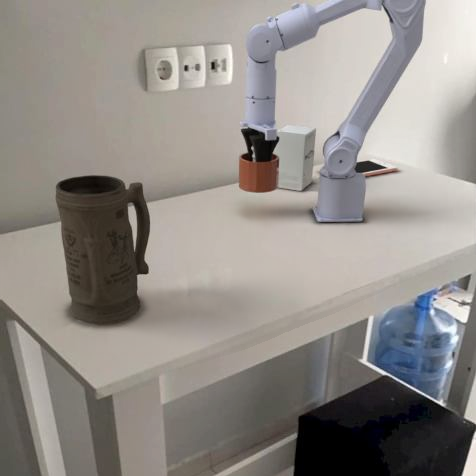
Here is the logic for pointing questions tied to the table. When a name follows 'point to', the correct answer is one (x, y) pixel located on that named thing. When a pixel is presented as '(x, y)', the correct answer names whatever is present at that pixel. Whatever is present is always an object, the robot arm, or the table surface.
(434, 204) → the table surface
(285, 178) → the white packaging box
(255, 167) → the cup
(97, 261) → the beer stein
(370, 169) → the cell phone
